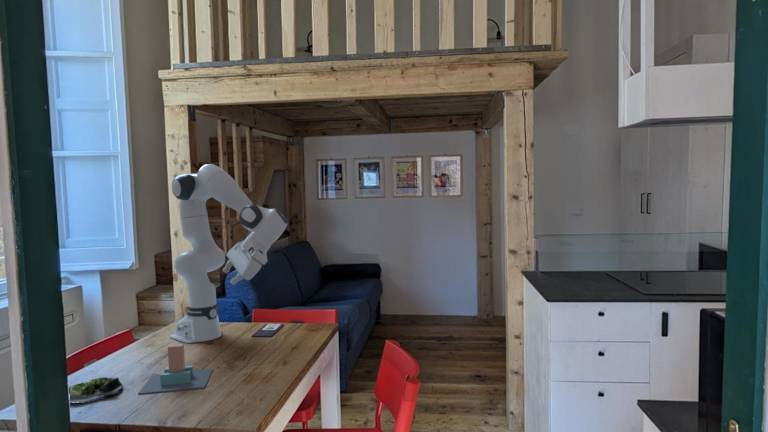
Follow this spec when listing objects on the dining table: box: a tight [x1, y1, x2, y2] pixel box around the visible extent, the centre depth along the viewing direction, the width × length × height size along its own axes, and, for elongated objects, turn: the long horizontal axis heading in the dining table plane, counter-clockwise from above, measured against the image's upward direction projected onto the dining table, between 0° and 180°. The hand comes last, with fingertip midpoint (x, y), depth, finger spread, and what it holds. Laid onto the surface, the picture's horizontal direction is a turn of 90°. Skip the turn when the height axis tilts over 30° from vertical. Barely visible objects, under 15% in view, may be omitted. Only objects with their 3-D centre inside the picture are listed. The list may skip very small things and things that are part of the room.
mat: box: [137, 368, 214, 395], centre depth 162 cm, size 20×16×1 cm
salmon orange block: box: [167, 343, 186, 373], centre depth 162 cm, size 4×2×12 cm, turn 101°
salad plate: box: [68, 376, 124, 405], centre depth 153 cm, size 19×18×5 cm
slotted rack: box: [160, 365, 195, 386], centre depth 162 cm, size 9×6×4 cm
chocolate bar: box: [250, 323, 285, 338], centre depth 218 cm, size 9×1×18 cm
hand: (227, 277), depth 174 cm, fingers open, 8 cm apart
